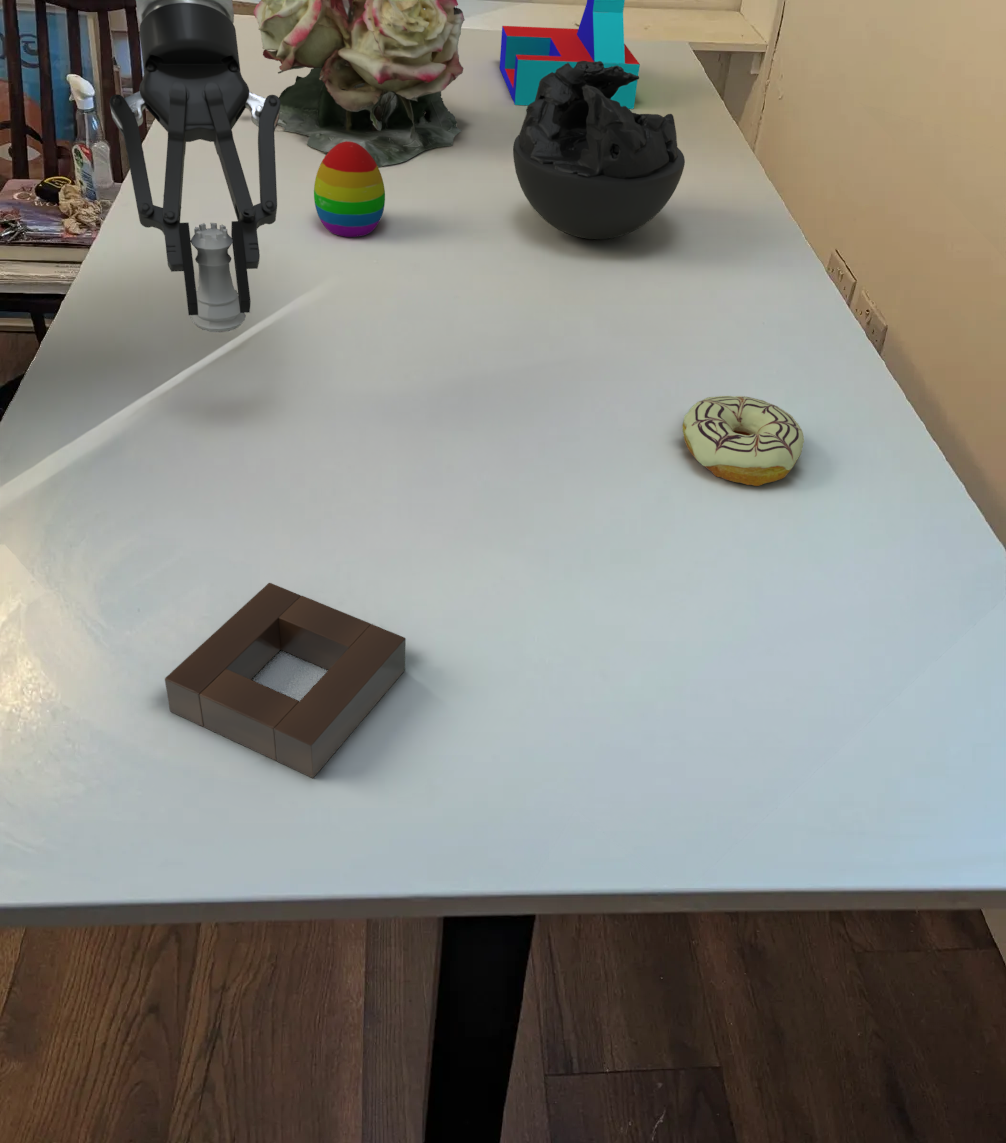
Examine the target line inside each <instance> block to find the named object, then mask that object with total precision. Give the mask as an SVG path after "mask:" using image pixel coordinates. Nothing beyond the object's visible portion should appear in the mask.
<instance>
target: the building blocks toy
mask: <svg viewBox="0 0 1006 1143" xmlns="http://www.w3.org/2000/svg"><path fill="white" fill-rule="evenodd" d="M625 1H626V0H586V4H585V7H584V10H583V13H582V17H581V18H580V19H581V20H580V23H579V26H578V28H566V27H565V28H564V27H540V26H521V25H520V26H518V25H502V26H501V37H500V38H501V39H500V56H499V71H500V73H501V75H502V78H503V80H504V83H505V85H506V88H507V90H508V93H509V95H510V97H511V99H512V102H513V104H514V106H528V105H530V104H531V103H533V102H534V101H535V98H536V95H537V90H538V87H539V82H540V80H541V79H542V78H543V77H545V76H546V75H548V74H550V73H552V72H553V73H555V72H556V70H557V69H558V68H560V67H562V66H563V65H565V64H566V63H569V64H570V65H571V67H572V68H574V67H575V66H576V64H577V62H579V61H587V62H598V61H601V62H603V65H604V68H608V67H611V66H612V67H613V66H620V67H622V68H623V69H624V72H626V73H632V74H634V75H636V76H639V73H640V66H641V64H640V62H639V61H638V59H637V58H636V57H635V56H634V54H633V53H632V52H631V50H630V49H629V47H628V46H627V45H626V43H625V31H624V29H625V27H624V25H625V24H624V9H625ZM638 80H639V79H638ZM638 80H636V81H633V82H630V83H629V84H628V85H624V86H621V87H619V88H618V90H617V92H616V93H615V94H614V96H613V97H612V98H611V100H614V101H617V102H619V103H620V106H626V107H627V108H628V109H629V110H631V109H632V110H634V109H635V103H636V95H637V88H638Z"/></svg>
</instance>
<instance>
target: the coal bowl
mask: <svg viewBox="0 0 1006 1143" xmlns="http://www.w3.org/2000/svg"><path fill="white" fill-rule="evenodd" d="M639 79H640V76H639V75H638V76H636V75H634V74H632V73H626V72H624V69H623V68H622V67H620V66H613V67H612V66H611V67H608V68H604V65H603V62H601V61H598V62H587V61H579V62H577V64H576V66H575V67H574V68H572V67H571V65H570V64H569V63H566V64H565V65H563V66H562V67H560V68H558V69H557V70H556V72H555V73H553V72H552V73H550V74H548V75H546V76H545V77H543V78H542V79H541V80H540V82H539V87H538V90H537V95H536V98H535V101H534V102H533V103H531V104H530V105H526V106H527V107H526V109H525V110H526V112H525V117H524V119H523V123H522V125H521V128H520V131H519V133H518V135H517V136H516V138H515V139H514V141H513V145H512V155H513V165H514V169H515V174H516V178H517V180H518V183H519V186H520V188H521V190H522V192H523V194H524V197H525V198H526V199H527V201H528V203H529V204H530V206H531V207H532V208H533V210H534V211H535V212H536V213H537V214H538V215H539V216H540V217H541V218H542V219H543V220H544V221H545V222H547V223H548V224H549V225H551V226H552V227H554V228H555V229H558V230H559V231H561V232H563V233H565V234H568V235H570V236H573V237H577V238H581V239H587V240H606V239H607V240H608V239H613V238H618V237H621V236H625V235H628V234H629V233H631V232H634V231H636V230H638V229H640V228H642V227H643V226H645V225H646V224H647V223H649V222H650V221H651V220H653V219H654V218H655V217H656V216H657V215H658V214H659V213H660V212H661V211H662V210H663V208H664V207H665V206H666V205H667V203H668V202H669V200H670V199H671V198H672V196H673V195H674V193H675V191H676V190H677V188H678V185H679V183H680V180H681V178H682V175H683V173H684V168H685V165H686V164H685V163H686V160H685V154H683V152H682V150H681V149H680V148H679V147H678V140H677V137H678V136H677V129H676V123H675V118H674V115H673V114H672V113H667V114H666V115H664V116H663V115H661V114H658V113H636V112H632V110H631V109H628V108H627V107H626V106H620V103H619V102H617V101H614V100H611V98H612V97H613V96H614V94H615V93H616V92H617V90H618V88H619V87H621V86H624V85H628V84H629V83H630V82H633V81H636V80H639Z"/></svg>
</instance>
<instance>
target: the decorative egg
mask: <svg viewBox="0 0 1006 1143" xmlns="http://www.w3.org/2000/svg"><path fill="white" fill-rule="evenodd" d="M313 185H314V186H313V201H314V206H315V210H316V214H317V216H318V218H319V220H320V222H321V224H322V225H323V226H324V227H325V229H326V230H327V231H328V232H329V233H331V234H333V235H336V236H340V237H345V238H357V237H358V238H359V237H363V236H367V235H369V234H371V233H372V232H373V231H374V230H375V229H376V228H377V227H378V225H379V223H380V221H381V219H382V216H383V214H384V211H385V204H386V191H385V184H384V180H383V176H382V174H381V170H380V167H378V166H377V164H376V162H375V161H374V159H373V158H372V156H371V155H370V154H369V153H368V152H367V150H365V149H364V148H363V147H362V146H360V145H359V144H357V143H354V142H349V141H346V142H342V143H339V144H337V145H336V146H334V147H333V148H332V149H331V150H330V151H329V152H326V154H325V155H324V157H323V159H322V161H321V162H320V164H319V167H318V169H317V171H316V175H315V180H314V184H313Z"/></svg>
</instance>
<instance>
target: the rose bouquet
mask: <svg viewBox="0 0 1006 1143" xmlns="http://www.w3.org/2000/svg"><path fill="white" fill-rule="evenodd" d="M458 6H459V3H458V0H260V1H258V3H257V4H256V5H255V8H254V9H253V16H254V18H255V19H256V21H257V24H258V30H259V32H260V37H261V44H262V45H261V46H262V49H263V51H262V56H263V57H264V58H265V59H267V60H274V61H276V62H280V64H281V65H279V67H278V68H279V70H280V71H278V72H277V74H278V75H280V74H282V73H284V72H287V71H293V70H299V69H300V70H301V69H304V68H307V69H310V71H309V73H308V74H306V75H305V76H304V77H303V76H299V75H297V76H295V82H294V84H291V85H289V86H287V87H285V89H284V90H282V92H281V93H280V95H279V96H278V98H279V99H280V102H281V103H280V113H279V120H278V123H277V126H278V125H279V126H280V127H281V128H283V129H281V131H282V132H283V131H284V132H291V133H295V134H296V133H297V134H300V135H304V136H308V140H307V143H306V145H307V146H308V147H311V148H313V149H316V150H317V151H320V152H324V153H328V152H329V151H330V150H331V149H332V148H333V147H334V146H336V145H337V144H339V143H342V142H346V141H349V142H354V143H357V144H359V145H360V146H362V147H363V148H364V149H365V150H367V152H368V153H369V154H370V155H371V156H372V158H373V159H374V161H375V162H376V164H377V166H378V168H382V167H385V166H391V165H397V164H401V163H403V162H407V161H409V160H410V159H413V158H414V157H416V156H417V155H419V154H421V153H423V152H424V151H428V150H432V149H435V148H442V147H453V145H454V139H455V137H456V136H457V135H459V134H460V132H462V131H463V129H460V128H459V127H458V126H457V125H458V121H457V117H456V115H454V114H453V113H452V112H451V111H450V110H449V109H448V107H447V106H446V105H445V103H444V101H443V97H442V92H443V91H445V89H446V88H447V87H448V86H449V85H451V83H453V82H454V81H456V79H457V78H458V77H459V76H460V75H462V74H463V73H464V67H463V65H462V64H461V62H460V54H459V41H460V37H461V35H462V26H463V24H464V21H466V19H465V15H464V12H463V11H462V9H461V8H459V7H458ZM275 131H277V129H275Z"/></svg>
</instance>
